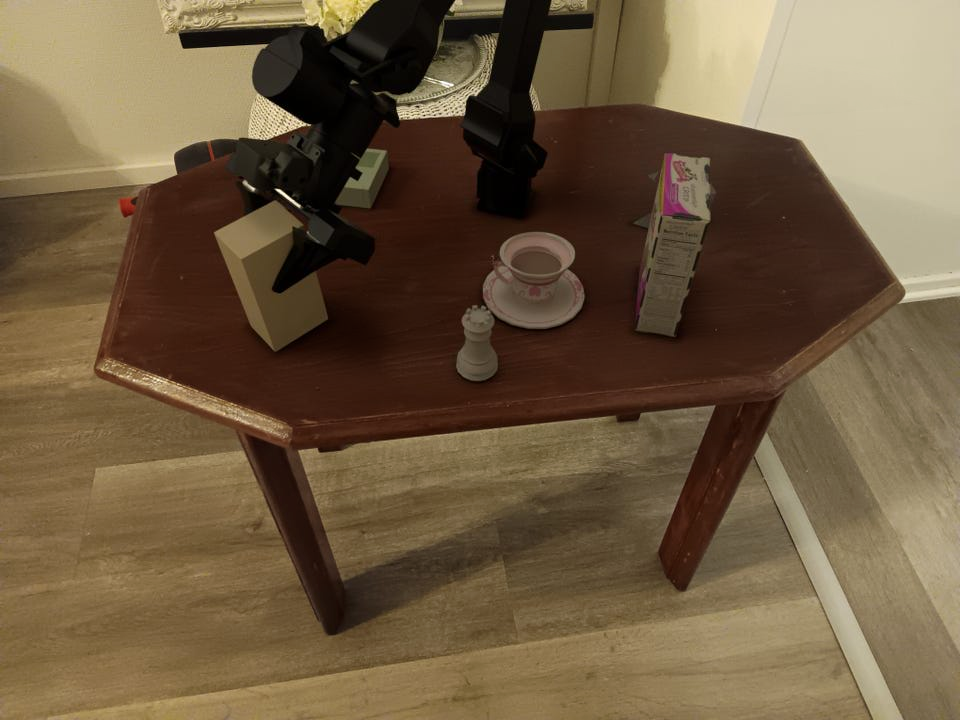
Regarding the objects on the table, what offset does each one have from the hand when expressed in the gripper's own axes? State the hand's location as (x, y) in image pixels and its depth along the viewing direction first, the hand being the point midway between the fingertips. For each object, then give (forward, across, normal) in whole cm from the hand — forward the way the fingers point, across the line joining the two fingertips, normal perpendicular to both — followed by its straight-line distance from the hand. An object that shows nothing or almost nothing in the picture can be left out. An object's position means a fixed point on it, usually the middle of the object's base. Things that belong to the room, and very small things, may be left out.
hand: (257, 275), depth 74 cm
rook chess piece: (-4, +19, +15) cm, 25 cm away
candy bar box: (-20, +26, +30) cm, 45 cm away
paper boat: (-32, +17, +41) cm, 54 cm away
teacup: (-13, +15, +24) cm, 31 cm away
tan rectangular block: (+4, 0, +7) cm, 8 cm away
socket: (-11, -18, +21) cm, 30 cm away
